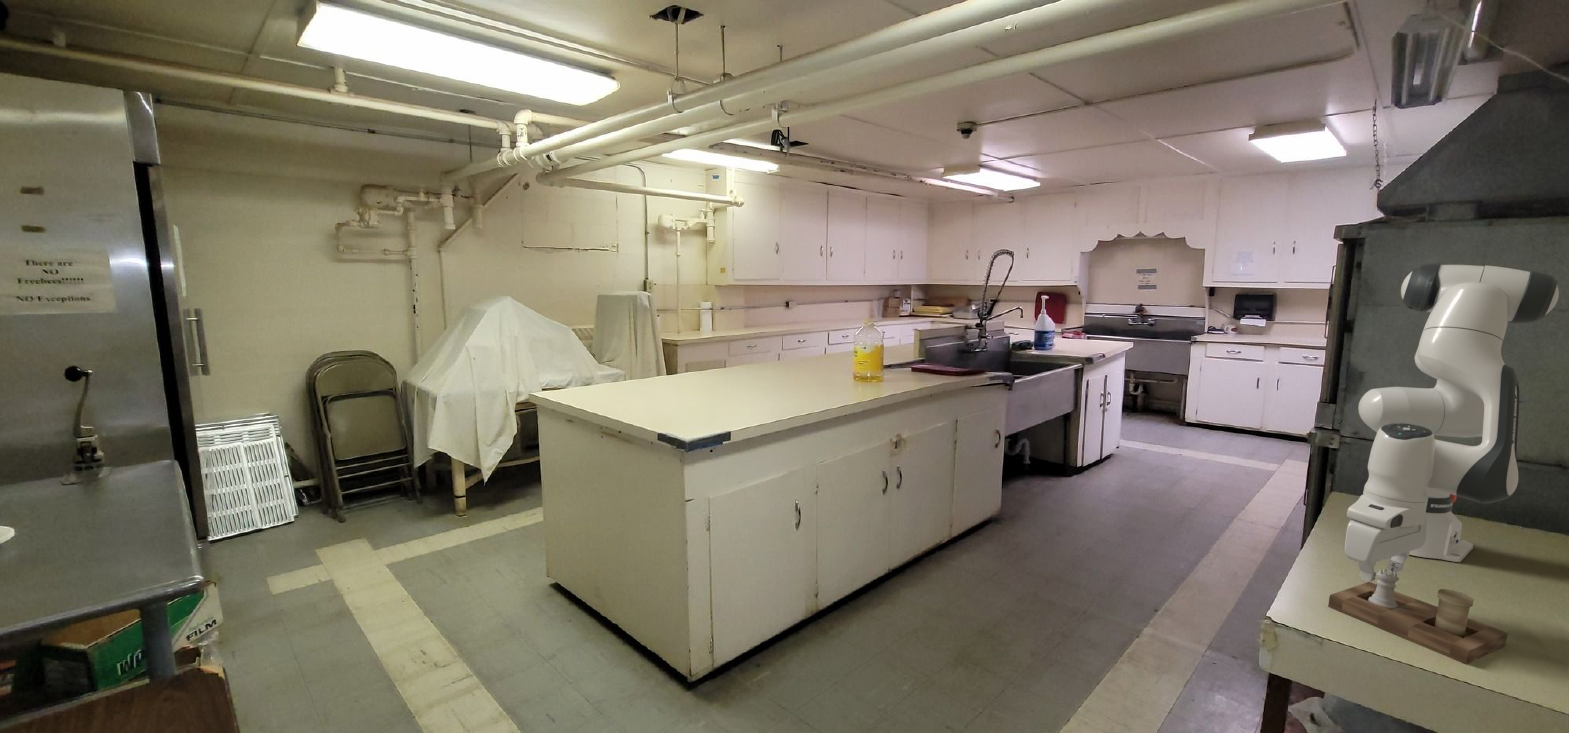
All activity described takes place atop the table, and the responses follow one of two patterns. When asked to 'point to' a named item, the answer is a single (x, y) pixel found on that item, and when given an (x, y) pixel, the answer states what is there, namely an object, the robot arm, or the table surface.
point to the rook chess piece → (1385, 589)
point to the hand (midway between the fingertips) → (1380, 575)
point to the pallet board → (1425, 621)
